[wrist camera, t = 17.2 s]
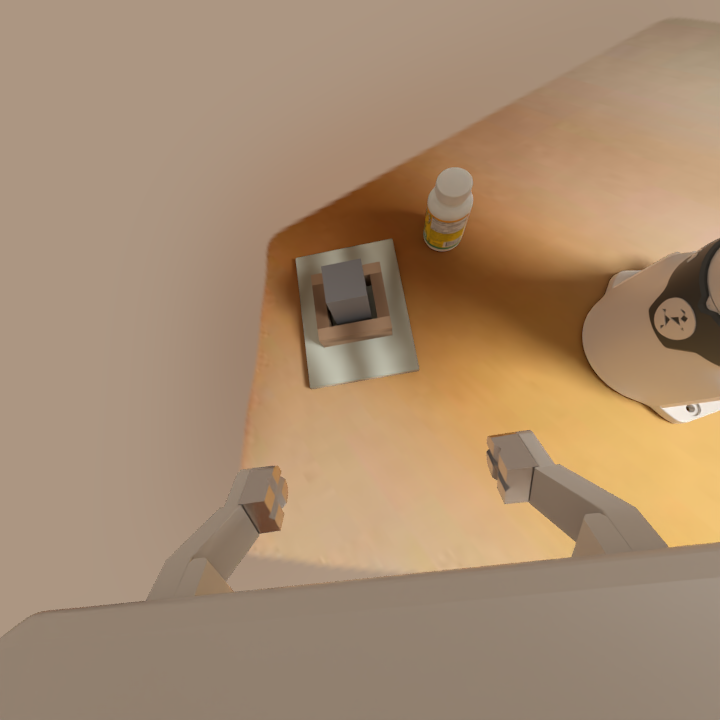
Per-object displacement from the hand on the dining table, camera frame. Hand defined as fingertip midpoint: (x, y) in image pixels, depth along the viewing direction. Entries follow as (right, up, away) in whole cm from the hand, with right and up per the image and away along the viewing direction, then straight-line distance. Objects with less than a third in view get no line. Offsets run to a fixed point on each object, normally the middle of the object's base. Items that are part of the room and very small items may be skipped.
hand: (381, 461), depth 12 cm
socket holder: (-2, +10, +30) cm, 32 cm away
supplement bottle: (+11, +21, +32) cm, 40 cm away
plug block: (-2, +11, +29) cm, 31 cm away
